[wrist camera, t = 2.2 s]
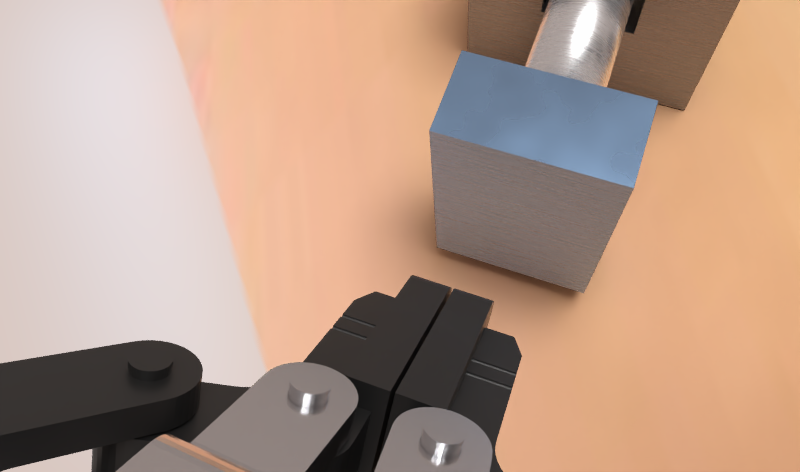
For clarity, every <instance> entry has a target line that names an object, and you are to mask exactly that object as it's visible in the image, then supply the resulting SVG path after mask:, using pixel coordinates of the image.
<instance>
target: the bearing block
mask: <svg viewBox="0 0 800 472" xmlns="http://www.w3.org/2000/svg"><path fill="white" fill-rule="evenodd" d="M739 1H740V0H634V2H633V5H632V8H631V11H630V15H629V18H628V21H627V24H626V27H625V31H624V34H623V37H622V40H621V43H620V47H619V50H618V53H617V56H616V59H615V63H614V66H613V69H612V72H611V76H610V79H609V82H608V85H607V88H611V89H615V90H619V91H623V92H627V93H631V94H634V95H638V96H642V97H646V98H650V99H654V100H658V103H657V104H661V105H665V106H669V107H672V108H676V109H680V110H685V108H686V106H687V104H688V102H689V100H690V98H691V96H692V94H693V92H694V90H695V88H696V86H697V84H698V82H699V80H700V78H701V76H702V74H703V72H704V70H705V68H706V66H707V64H708V62H709V60H710V59H711V57H712V55H713V53H714V51H715V49H716V47H717V45H718V43H719V41H720V39H721V37H722V35H723V33H724V31H725V29H726V27H727V25H728V23H729V21H730V19H731V17H732V15H733V13H734V11H735V9H736V7H737V5H738V3H739ZM548 2H549V0H469V6H468V52H470V53H474V54H478V55H482V56H486V57H490V58H494V59H498V60H502V61H506V62H510V63H513V64H517V65H521V66H525V65H526V62H527V60H528V57H529V54H530V51H531V49H532V46H533V43H534V40H535V38H536V35H537V32H538V29H539V27H540V24H541V21H542V18H543V16H544V13H545V10H546V7H547V5H548Z"/></svg>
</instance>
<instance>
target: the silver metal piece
mask: <svg viewBox="0 0 800 472" xmlns="http://www.w3.org/2000/svg"><path fill="white" fill-rule="evenodd" d="M633 2H634V0H549V2H548V5H547V7H546V10H545V13H544V16H543V18H542V21H541V24H540V27H539V29H538V32H537V35H536V38H535V40H534V43H533V46H532V49H531V51H530V54H529V57H528V60H527V62H526V65H525V66H521V65H517V64H513V63H510V62H506V61H502V60H498V59H494V58H490V57H486V56H482V55H478V54H474V53H470V52H467V51H463V50H462V51H461V54H460V56H459V59H458V61H457V64H456V66H455V69H454V71H453V74H452V76H451V79H450V81H449V83H448V86H447V88H446V91H445V93H444V96H443V98H442V101H441V103H440V106H439V108H438V111H437V113H436V116H435V118H434V121H433V123H432V126H431V128H430V131H429V133H430V148H431V163H432V178H433V193H434V208H435V224H436V239H437V248H441V249H444V250H447V251H450V252H453V253H456V254H460V255H463V256H466V257H469V258H472V259H476V260H479V261H482V262H485V263H488V264H492V265H495V266H498V267H501V268H504V269H508V270H511V271H514V272H517V273H520V274H524V275H527V276H530V277H533V278H536V279H540V280H543V281H546V282H549V283H552V284H556V285H559V286H562V287H565V288H568V289H572V290H575V291H578V292H581V293H584V292H585V289H586V287H587V285H588V283H589V281H590V279H591V277H592V275H593V273H594V271H595V269H596V266H597V264H598V262H599V260H600V258H601V256H602V254H603V252H604V250H605V248H606V245H607V243H608V241H609V239H610V237H611V235H612V233H613V231H614V229H615V227H616V224H617V222H618V220H619V218H620V216H621V214H622V212H623V210H624V208H625V206H626V203H627V201H628V199H629V197H630V195H631V193H632V191H633V189H634V186H635V182H636V178H637V175H638V171H639V168H640V164H641V161H642V157H643V153H644V150H645V146H646V143H647V139H648V136H649V132H650V128H651V125H652V121H653V118H654V114H655V111H656V107H657V103H658V100H654V99H650V98H646V97H642V96H638V95H634V94H631V93H627V92H623V91H619V90H615V89H611V88H607V85H608V82H609V79H610V76H611V72H612V69H613V66H614V63H615V59H616V56H617V53H618V50H619V47H620V43H621V40H622V37H623V34H624V31H625V27H626V24H627V21H628V18H629V15H630V11H631V8H632V5H633Z"/></svg>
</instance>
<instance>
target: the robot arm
mask: <svg viewBox="0 0 800 472" xmlns="http://www.w3.org/2000/svg"><path fill="white" fill-rule="evenodd" d="M451 290H452V288H451V287H448V286H445V285H442V284H439V283H435V282H432V281H429V280H426V279H423V278H420V277H417V276H414V275H412V276H411V277H410V278H409V280H408V281H407V282H406V284H405V285H404V287H403V288H402V289H401V291H400V292H399V294H398V295H397V296H396V298H394V297H391V296H388V295H385V294H382V293H379V292H373V293H371V294H368V295H366V296H363V297H361V298H358V299H356V300H354V301H353V303H352V304H351V305H350V306H349V307H348V309H347V310H346V311H345V312H344V313H343V316H342V317H340V318H339V319H338V321H337V322H336V323H335V324H334V325H333V328H332V329H330V330H329V331H328V333H327V334H326V335H325V336H324V337H323V339H322V340H321V341H320V342H319V343H318V345H317V346H316V347H315V348H314V349H313V351H312V352H311V353H310V354H309V356H308V357H307V358H306V359H305V360H304V362H296V363H288V364H283V365H280V366H277V367H275V368H273V369H271V370H270V371H268V372H267V373H266V374H265V375H264V376H262V378H261V379H259V380H258V381H257V382H256V383H255V384H254V385H253V386H252V387H234V386H227V385H220V384H213V383H205V382H201V379H202V371H203V369H202V365H201V362H200V361H199V359H198V358H197V357H196V356H195V355H194V354H193V353H192V352H191V351H189V350H187V349H186V348H184V347H181V346H179V345H176V344H173V343H169V342H163V341H153V340H151V341H149V340H148V341H147V340H146V341H135V342H129V343H122V344H116V345H110V346H104V347H99V348H93V349H87V350H80V351H74V352H68V353H62V354H56V355H49V356H43V357H37V358H31V359H25V360H20V361H13V362H8V363H1V364H0V472H1V471H3V470H6V469H10V468H14V467H18V466H22V465H26V464H30V463H35V462H39V461H43V460H47V459H51V458H55V457H60V456H64V455H68V454H72V453H76V452H80V451H84V450H89V449H93V451H92V454H93V455H92V472H503V471H502V470H501V468H500V466H499V464H498V462H497V459H496V455H495V445H496V440H497V437H498V434H499V430H500V427H501V424H502V420H503V417H504V414H505V410H506V407H507V404H508V400H509V397H510V394H511V390H512V387H513V384H514V380H515V377H516V374H517V370H518V367H519V364H520V360H521V357H522V355H521V353H520V350H519V348H518V345H517V343H516V340H515V338H514V337H512V336H509V335H506V334H503V333H500V332H497V331H494V330H491V329H488V328H487V326H488V322H489V319H490V315H491V312H492V308H493V303H494V301H492V300H489V299H485V298H482V297H479V296H476V295H473V294H470V293H467V292H464V291H461V290H458V289H453V291H452V293H451Z"/></svg>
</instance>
